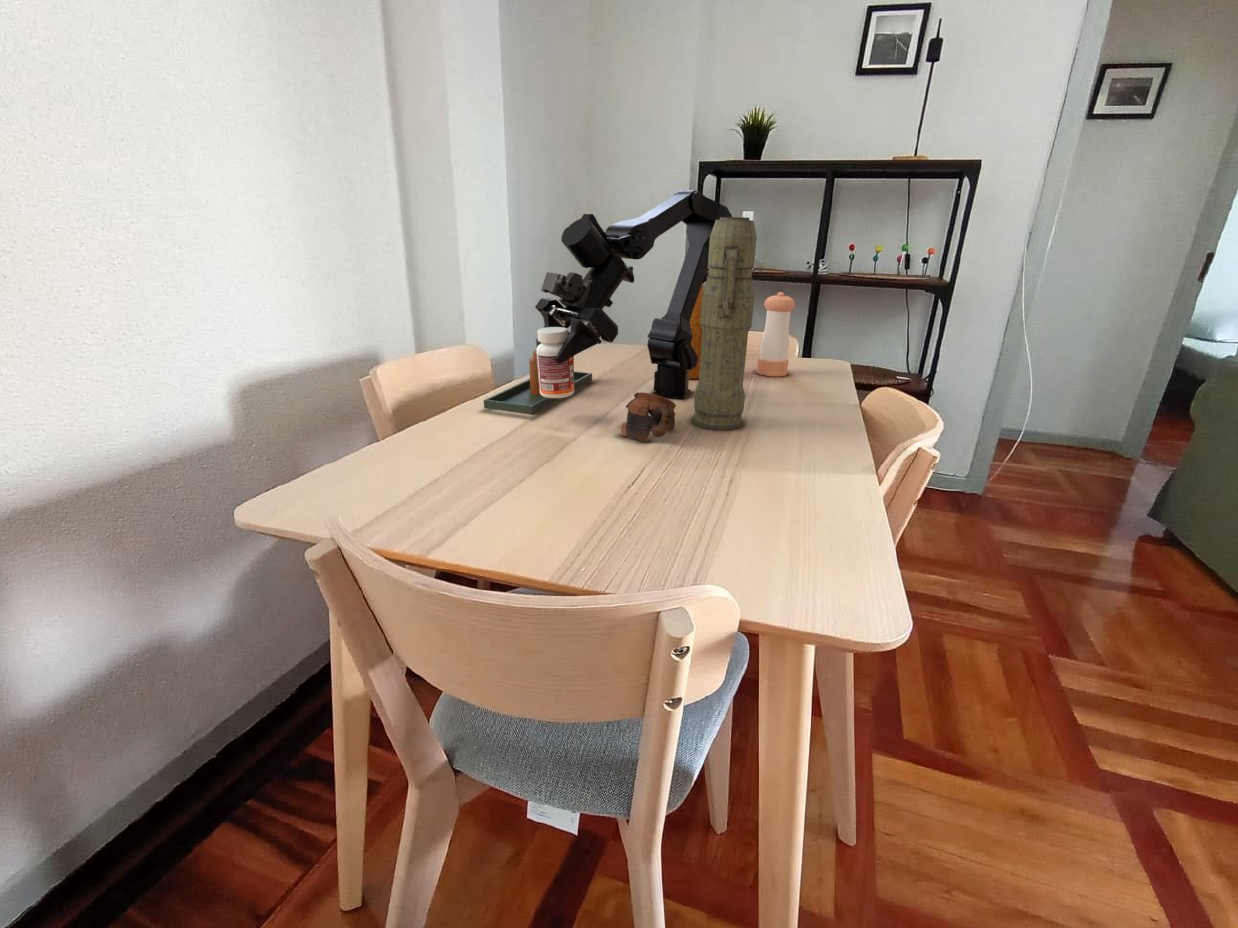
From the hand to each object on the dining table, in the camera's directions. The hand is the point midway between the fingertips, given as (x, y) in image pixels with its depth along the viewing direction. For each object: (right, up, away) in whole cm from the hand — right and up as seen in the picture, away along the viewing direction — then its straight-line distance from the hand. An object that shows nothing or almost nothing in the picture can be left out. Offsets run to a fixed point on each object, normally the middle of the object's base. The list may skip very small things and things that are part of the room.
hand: (547, 358), depth 104 cm
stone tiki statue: (+30, -11, +8) cm, 33 cm away
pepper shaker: (+50, +4, +45) cm, 67 cm away
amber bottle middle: (-3, -3, +21) cm, 22 cm away
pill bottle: (+1, -6, +3) cm, 7 cm away
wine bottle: (+29, +3, +41) cm, 50 cm away
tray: (-4, -4, +21) cm, 22 cm away
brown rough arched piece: (+18, -13, 0) cm, 22 cm away
